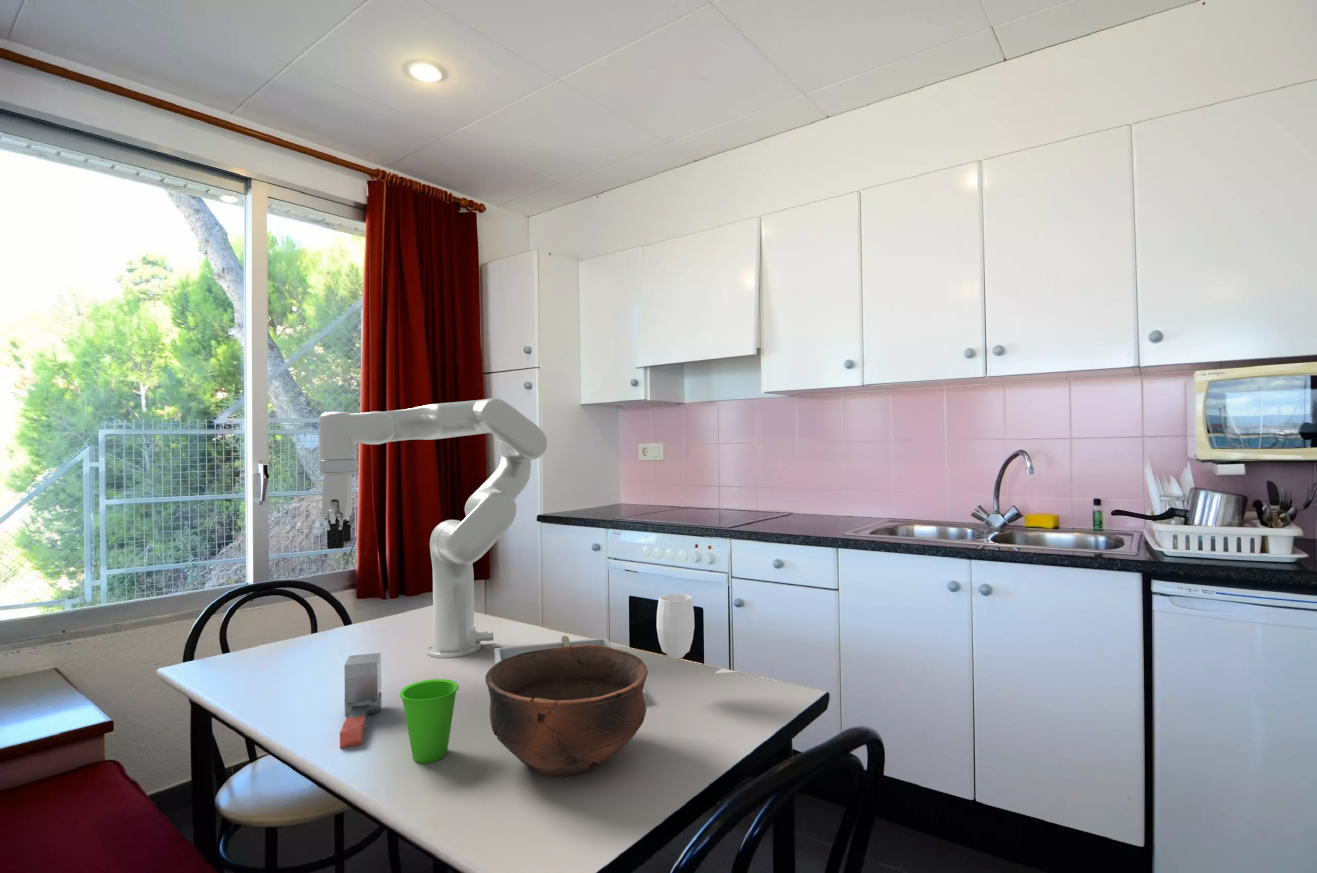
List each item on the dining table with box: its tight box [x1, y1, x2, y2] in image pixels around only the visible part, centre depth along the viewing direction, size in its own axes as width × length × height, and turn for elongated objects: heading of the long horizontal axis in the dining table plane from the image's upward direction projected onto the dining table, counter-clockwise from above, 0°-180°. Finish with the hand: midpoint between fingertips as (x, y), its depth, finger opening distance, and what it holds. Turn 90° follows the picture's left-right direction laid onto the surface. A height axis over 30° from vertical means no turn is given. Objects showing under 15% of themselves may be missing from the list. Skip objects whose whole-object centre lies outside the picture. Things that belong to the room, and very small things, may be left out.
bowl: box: [484, 645, 649, 778], centre depth 105 cm, size 25×25×15 cm
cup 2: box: [656, 593, 695, 660], centre depth 127 cm, size 7×7×21 cm
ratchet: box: [339, 691, 383, 749], centre depth 120 cm, size 18×6×6 cm, turn 16°
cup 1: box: [399, 678, 460, 764], centre depth 108 cm, size 9×9×11 cm
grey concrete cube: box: [344, 652, 382, 704], centre depth 126 cm, size 6×6×7 cm
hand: (339, 545), depth 148 cm, fingers open, 9 cm apart
